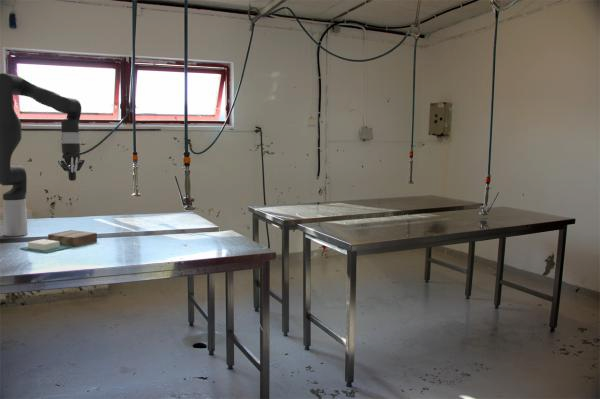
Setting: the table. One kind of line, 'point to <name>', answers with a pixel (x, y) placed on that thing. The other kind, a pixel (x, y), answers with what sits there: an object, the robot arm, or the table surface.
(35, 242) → the cream rectangular tile
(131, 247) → the table surface
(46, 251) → the mat
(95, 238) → the deck
